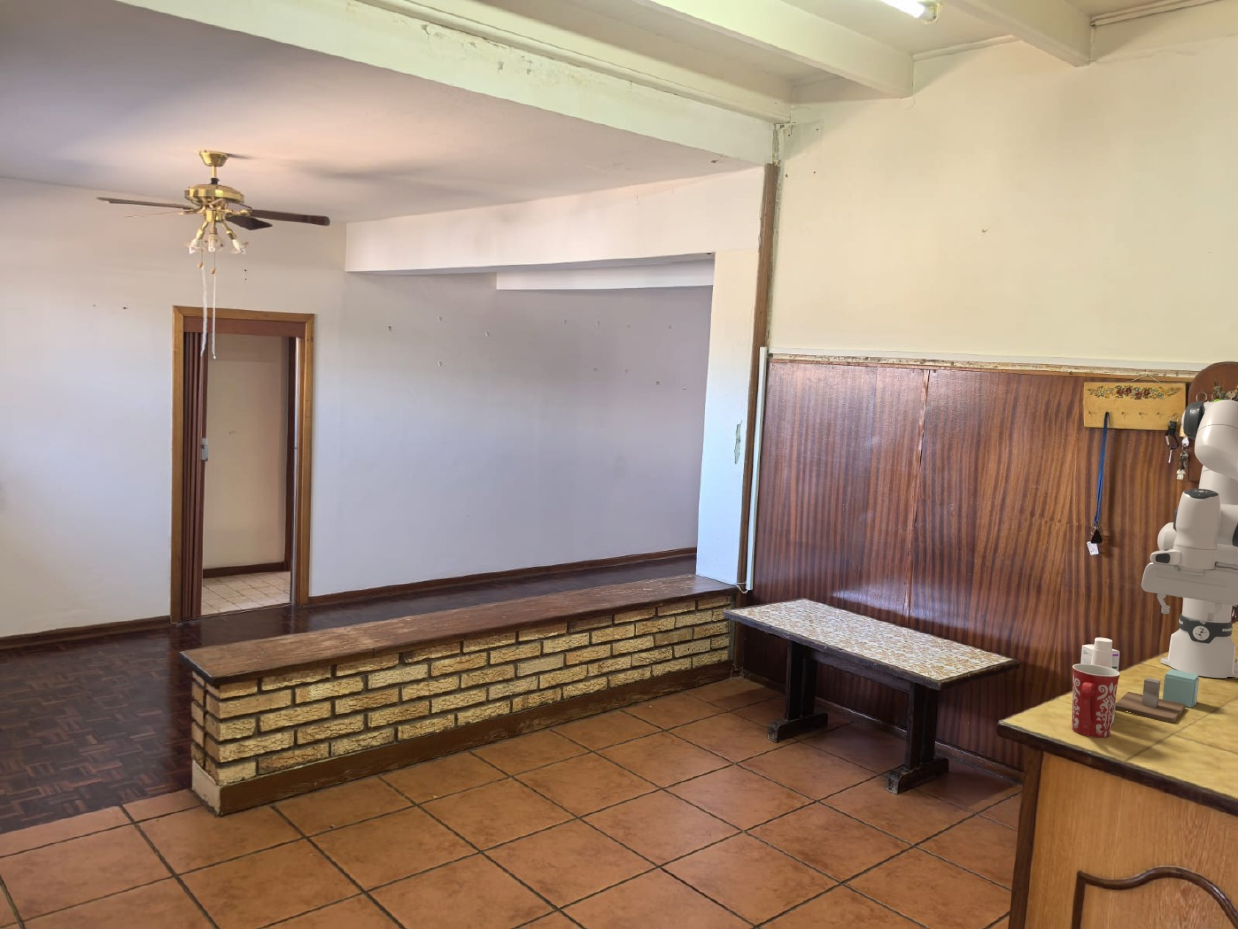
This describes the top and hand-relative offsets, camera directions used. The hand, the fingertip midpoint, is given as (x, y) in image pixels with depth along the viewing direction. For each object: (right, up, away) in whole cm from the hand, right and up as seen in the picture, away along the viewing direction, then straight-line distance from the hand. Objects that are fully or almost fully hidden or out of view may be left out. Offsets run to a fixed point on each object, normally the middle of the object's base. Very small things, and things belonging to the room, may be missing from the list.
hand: (1187, 617), depth 224 cm
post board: (-12, -20, -5) cm, 24 cm away
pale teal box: (-1, -20, +2) cm, 20 cm away
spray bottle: (-29, -21, -14) cm, 38 cm away
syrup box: (-25, -20, -8) cm, 33 cm away
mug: (-35, -21, -23) cm, 47 cm away
